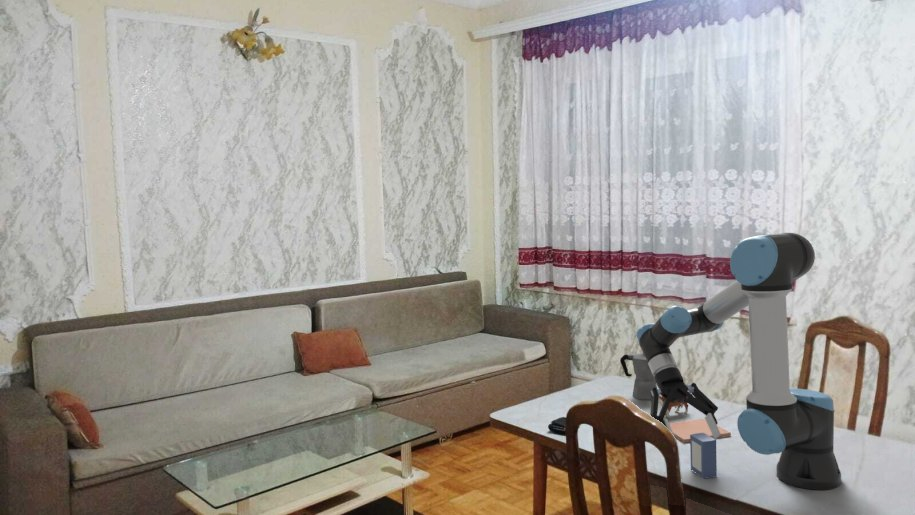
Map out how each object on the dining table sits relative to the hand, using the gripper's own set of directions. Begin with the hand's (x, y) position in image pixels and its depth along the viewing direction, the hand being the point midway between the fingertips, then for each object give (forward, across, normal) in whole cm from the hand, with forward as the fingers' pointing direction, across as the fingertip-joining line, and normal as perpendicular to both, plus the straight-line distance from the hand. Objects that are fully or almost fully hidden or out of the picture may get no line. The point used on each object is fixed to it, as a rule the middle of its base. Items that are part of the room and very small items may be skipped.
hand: (695, 439), depth 191 cm
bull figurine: (-24, -17, -36) cm, 46 cm away
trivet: (-12, -15, -24) cm, 30 cm away
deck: (+8, 0, -4) cm, 9 cm away
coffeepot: (-39, -18, -51) cm, 67 cm away
